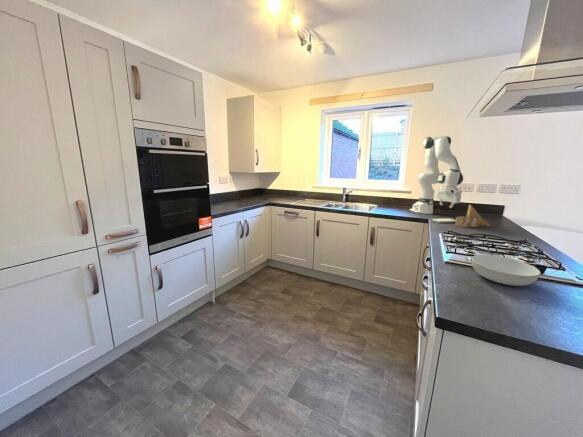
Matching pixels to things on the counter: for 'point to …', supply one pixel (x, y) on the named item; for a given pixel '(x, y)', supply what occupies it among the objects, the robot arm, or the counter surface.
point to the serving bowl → (505, 270)
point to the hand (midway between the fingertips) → (445, 206)
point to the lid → (443, 220)
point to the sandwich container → (474, 213)
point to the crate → (467, 221)
